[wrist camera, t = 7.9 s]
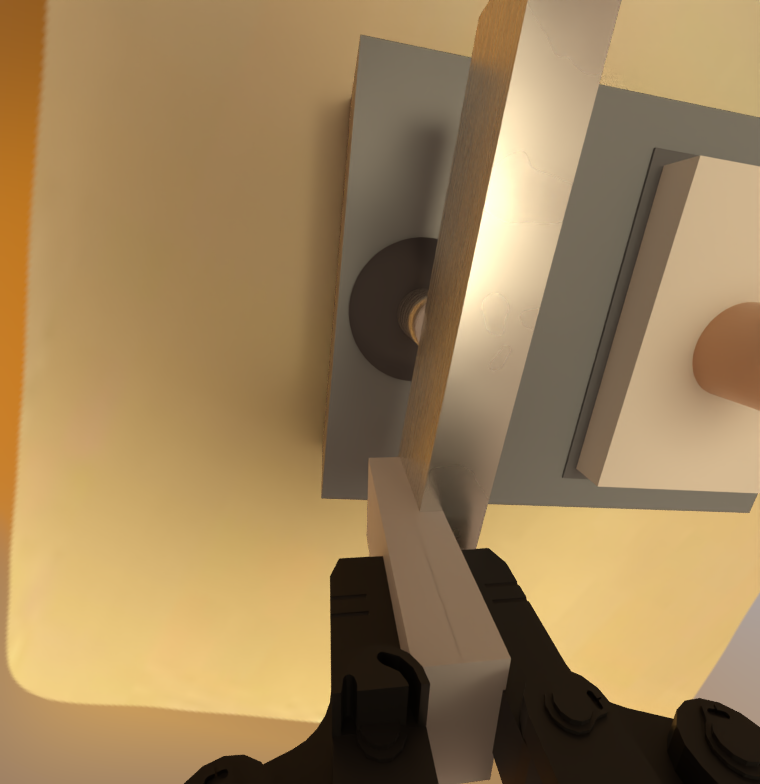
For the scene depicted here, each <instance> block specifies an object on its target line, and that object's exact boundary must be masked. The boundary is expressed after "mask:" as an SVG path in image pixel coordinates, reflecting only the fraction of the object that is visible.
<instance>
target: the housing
mask: <svg viewBox="0 0 760 784" xmlns="http://www.w3.org/2000/svg"><path fill="white" fill-rule="evenodd" d="M470 63H471V57H466V56H461V55H456V54H451V53H447V52H442V51H437V50H432V49H427V48H422V47H418V46H413V45H408V44H403V43H398V42H394V41H389V40H384V39H379V38H374V37H370V36H365V35H361V36H360V42H359V49H358V56H357V63H356V69H355V76H354V83H353V90H352V97H351V108H350V120H349V133H348V145H347V157H346V169H345V181H344V193H343V206H342V218H341V230H340V242H339V254H338V266H337V279H336V291H335V303H334V315H333V327H332V339H331V352H330V364H329V376H328V388H327V400H326V412H325V425H324V437H323V455H322V494H321V498H327V499H356V500H368V464H369V458H383V457H398V453H399V448H400V443H401V437H402V432H403V426H404V421H405V415H406V410H407V405H408V399H409V394H410V388H411V383H412V378H413V372H414V367H415V361H416V356H417V350H418V345H417V344H416V343H415V342H414V341H413V340H412V339H411V338H410V337H409V336H408V335H407V334H405V333H404V332H403V330H402V329H401V327H400V325H399V323H398V318H397V312H398V307H399V304H400V302H401V301H402V299H403V298H404V297H405V296H406V295H407V294H408V293H410V292H411V291H413V290H416V289H421V288H425V289H429V285H430V280H431V275H432V269H433V264H434V258H435V253H436V247H437V242H438V237H439V231H440V226H441V220H442V215H443V210H444V204H445V199H446V193H447V188H448V182H449V177H450V172H451V166H452V161H453V155H454V150H455V145H456V139H457V134H458V128H459V123H460V117H461V112H462V107H463V101H464V96H465V90H466V85H467V80H468V74H469V69H470ZM700 155H701V156H706V157H712V158H717V159H722V160H728V161H733V162H738V163H744V164H749V165H754V166H760V118H759V117H754V116H749V115H745V114H740V113H735V112H730V111H725V110H721V109H716V108H711V107H706V106H701V105H697V104H692V103H687V102H682V101H677V100H672V99H668V98H663V97H658V96H653V95H648V94H644V93H639V92H634V91H629V90H624V89H620V88H615V87H610V86H605V85H600V84H599V87H598V91H597V94H596V98H595V102H594V106H593V109H592V113H591V117H590V121H589V124H588V128H587V132H586V136H585V140H584V143H583V147H582V151H581V155H580V158H579V162H578V166H577V170H576V173H575V177H574V181H573V185H572V189H571V192H570V196H569V200H568V204H567V207H566V211H565V215H564V219H563V222H562V226H561V230H560V234H559V238H558V241H557V245H556V249H555V253H554V256H553V260H552V264H551V268H550V271H549V275H548V279H547V283H546V287H545V290H544V294H543V298H542V302H541V305H540V309H539V313H538V317H537V320H536V324H535V328H534V332H533V335H532V339H531V343H530V347H529V351H528V354H527V358H526V362H525V366H524V369H523V373H522V377H521V381H520V384H519V388H518V392H517V396H516V400H515V403H514V407H513V411H512V415H511V418H510V422H509V426H508V430H507V433H506V437H505V441H504V445H503V449H502V452H501V456H500V460H499V464H498V467H497V471H496V475H495V479H494V482H493V486H492V490H491V494H490V498H489V501H488V504H503V505H532V506H562V507H591V508H621V509H650V510H679V511H709V512H738V513H749V512H750V510H751V508H752V506H753V503H754V501H755V499H756V497H757V494H758V493H738V492H714V491H691V490H668V489H644V488H621V487H598V486H596V485H595V484H594V483H593V482H592V481H590V480H589V479H588V478H587V477H586V476H584V475H583V474H582V473H581V472H580V471H579V470H577V469H576V468H577V464H578V461H579V457H580V454H581V450H582V447H583V443H584V440H585V437H586V433H587V430H588V426H589V423H590V419H591V416H592V412H593V409H594V405H595V402H596V398H597V395H598V392H599V388H600V385H601V381H602V378H603V374H604V371H605V367H606V364H607V360H608V357H609V354H610V350H611V347H612V343H613V340H614V336H615V333H616V329H617V326H618V322H619V319H620V315H621V312H622V309H623V305H624V302H625V298H626V295H627V291H628V288H629V284H630V281H631V277H632V274H633V270H634V267H635V264H636V260H637V257H638V253H639V250H640V246H641V243H642V239H643V236H644V232H645V229H646V226H647V222H648V219H649V215H650V212H651V208H652V205H653V201H654V198H655V194H656V191H657V187H658V184H659V181H660V177H661V174H662V170H663V167H664V165H668V164H671V163H675V162H679V161H682V160H686V159H689V158H693V157H697V156H700Z"/></svg>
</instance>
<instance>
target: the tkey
mask: <svg viewBox="0 0 760 784" xmlns="http://www.w3.org/2000/svg"><path fill="white" fill-rule="evenodd" d="M620 4H621V0H489V2H488V4H487V5H486V7H485V8H484V10H483V11H482V13H481V15H480V16H479V20H478V25H477V31H476V36H475V42H474V47H473V52H472V58H471V63H470V69H469V74H468V80H467V85H466V90H465V96H464V101H463V107H462V112H461V117H460V123H459V128H458V134H457V139H456V145H455V150H454V155H453V161H452V166H451V172H450V177H449V182H448V188H447V193H446V199H445V204H444V210H443V215H442V220H441V226H440V231H439V237H438V242H437V247H436V253H435V258H434V264H433V269H432V275H431V280H430V285H429V289H425V288H421V289H416V290H413V291H411V292H410V293H408V294H407V295H406V296H405V297H404V298H403V299H402V301H401V302H400V304H399V307H398V312H397V318H398V323H399V325H400V327H401V329H402V330H403V332H404V333H405V334H407V335H408V336H409V337H410V338H411V339H412V340H413V341H414V342H415V343H416V344H417V345H418V350H417V356H416V361H415V367H414V372H413V378H412V383H411V388H410V394H409V399H408V405H407V410H406V415H405V421H404V426H403V432H402V437H401V443H400V448H399V453H398V457H400V459H401V462H402V465H403V467H404V470H405V473H406V476H407V478H408V481H409V484H410V487H411V489H412V492H413V495H414V498H415V500H416V503H417V506H418V509H419V511H420V512H430V511H443V512H444V514H445V517H446V519H447V521H448V523H449V525H450V527H451V530H452V532H453V534H454V536H455V538H456V540H457V543H458V545H459V547H460V549H461V550H467V549H476V547H477V543H478V539H479V535H480V531H481V528H482V524H483V520H484V516H485V513H486V509H487V505H488V501H489V498H490V494H491V490H492V486H493V482H494V479H495V475H496V471H497V467H498V464H499V460H500V456H501V452H502V449H503V445H504V441H505V437H506V433H507V430H508V426H509V422H510V418H511V415H512V411H513V407H514V403H515V400H516V396H517V392H518V388H519V384H520V381H521V377H522V373H523V369H524V366H525V362H526V358H527V354H528V351H529V347H530V343H531V339H532V335H533V332H534V328H535V324H536V320H537V317H538V313H539V309H540V305H541V302H542V298H543V294H544V290H545V287H546V283H547V279H548V275H549V271H550V268H551V264H552V260H553V256H554V253H555V249H556V245H557V241H558V238H559V234H560V230H561V226H562V222H563V219H564V215H565V211H566V207H567V204H568V200H569V196H570V192H571V189H572V185H573V181H574V177H575V173H576V170H577V166H578V162H579V158H580V155H581V151H582V147H583V143H584V140H585V136H586V132H587V128H588V124H589V121H590V117H591V113H592V109H593V106H594V102H595V98H596V94H597V91H598V87H599V83H600V79H601V75H602V72H603V68H604V64H605V60H606V57H607V53H608V49H609V45H610V42H611V38H612V34H613V30H614V27H615V23H616V19H617V15H618V11H619V8H620Z"/></svg>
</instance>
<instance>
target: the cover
mask: <svg viewBox="0 0 760 784" xmlns="http://www.w3.org/2000/svg"><path fill="white" fill-rule="evenodd" d="M576 469H577V470H579V471H580V472H581V473H582V474H583V475H584V476H586V477H587V478H588V479H589V480H590V481H592V482H593V483H594V484H595V485H596V486H598V487H621V488H644V489H668V490H691V491H714V492H738V493H760V166H754V165H749V164H744V163H738V162H733V161H728V160H722V159H717V158H712V157H706V156H701V155H700V156H697V157H693V158H689V159H686V160H682V161H679V162H675V163H671V164H668V165H664V167H663V170H662V174H661V177H660V181H659V184H658V187H657V191H656V194H655V198H654V201H653V205H652V208H651V212H650V215H649V219H648V222H647V226H646V229H645V232H644V236H643V239H642V243H641V246H640V250H639V253H638V257H637V260H636V264H635V267H634V270H633V274H632V277H631V281H630V284H629V288H628V291H627V295H626V298H625V302H624V305H623V309H622V312H621V315H620V319H619V322H618V326H617V329H616V333H615V336H614V340H613V343H612V347H611V350H610V354H609V357H608V360H607V364H606V367H605V371H604V374H603V378H602V381H601V385H600V388H599V392H598V395H597V398H596V402H595V405H594V409H593V412H592V416H591V419H590V423H589V426H588V430H587V433H586V437H585V440H584V443H583V447H582V450H581V454H580V457H579V461H578V464H577V468H576Z"/></svg>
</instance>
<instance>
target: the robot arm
mask: <svg viewBox="0 0 760 784" xmlns="http://www.w3.org/2000/svg"><path fill="white" fill-rule="evenodd" d="M367 541H368V548H369V555H370V557H358V558H342V559H339V560H338V562H337V564H336V566H335V568H334V570H333V572H332V574H331V576H330V619H331V698H330V704H329V706H328V709H327V712H326V715H325V717H324V719H323V720H322V722H321V723H320V725H319V727H318V728H317V730H316V731H315V732H314V733H313V734H312V735H311V736H310V737H309V738H308V739H307V740H306V741H304V742H303V743H301V744H300V745H299V746H297V747H295V748H294V749H293V750H290V751H288V752H287V753H285V754H283V755H281V756H279V757H277V758H275V759H273V760H271V761H269V762H267V763H265V764H262V763H261V762H260V761H257V760H255V759H253V758H251V757H248V756H246V755H233V756H223V757H221V758H219V759H217V760H215V761H213V762H211V763H209V764H207V765H205V766H203V767H202V768H200V769H199V770H198V771H197V772H196V773H195V774H194V775H193V776H192V777H191V778H190V779H189V780H187V781H186V782H185V783H184V784H460V783H468V782H474V781H482V780H489V779H490V777H491V771H492V765H493V759H495V762H496V765H497V768H498V771H499V774H500V777H501V780H502V783H503V784H760V727H759V726H757V725H756V724H755V723H753V722H752V721H751V720H749V719H748V718H747V717H745V716H744V715H742V714H741V713H739V712H737V711H735V710H733V709H731V708H729V707H727V706H725V705H723V704H721V703H718V702H714V701H710V700H705V699H701V698H698V699H692V700H686V701H684V702H683V703H682V705H681V706H680V707H679V708H678V709H677V711H676V714H675V716H674V719H672V718H667V717H663V716H659V715H654V714H650V713H646V712H642V711H637V710H633V709H629V708H625V707H622V706H619V705H616V704H613V703H611V702H609V701H608V700H607V698H606V697H605V696H604V695H603V694H602V692H601V691H600V690H599V689H598V688H597V687H596V686H594V685H593V684H592V683H590V682H589V681H588V680H586V679H585V678H584V677H582V676H581V675H578V674H576V673H574V672H571V670H570V669H569V668H568V666H567V665H566V664H565V662H564V660H563V658H562V657H561V655H560V653H559V652H558V650H557V648H556V647H555V645H554V643H553V641H552V640H551V638H550V636H549V635H548V633H547V631H546V630H545V628H544V626H543V625H542V623H541V621H540V619H539V618H538V616H537V614H536V613H535V611H534V609H533V608H532V606H531V604H530V603H529V601H527V600H526V596H525V594H524V592H523V591H522V589H521V587H520V586H519V585H517V581H516V579H515V577H514V575H513V574H512V572H511V570H510V569H509V567H508V565H507V564H506V563H505V562H504V561H503V560H502V559H501V558H500V557H498V556H497V555H496V554H495V553H494V552H493V551H491V550H490V549H489V548H483V549H467V550H461V549H460V547H459V545H458V543H457V540H456V538H455V536H454V534H453V532H452V530H451V527H450V525H449V523H448V521H447V519H446V517H445V514H444V512H443V511H430V512H420V511H419V509H418V506H417V503H416V500H415V498H414V495H413V492H412V489H411V487H410V484H409V481H408V478H407V476H406V473H405V470H404V467H403V465H402V462H401V459H400V457H383V458H369V464H368V504H367Z"/></svg>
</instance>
